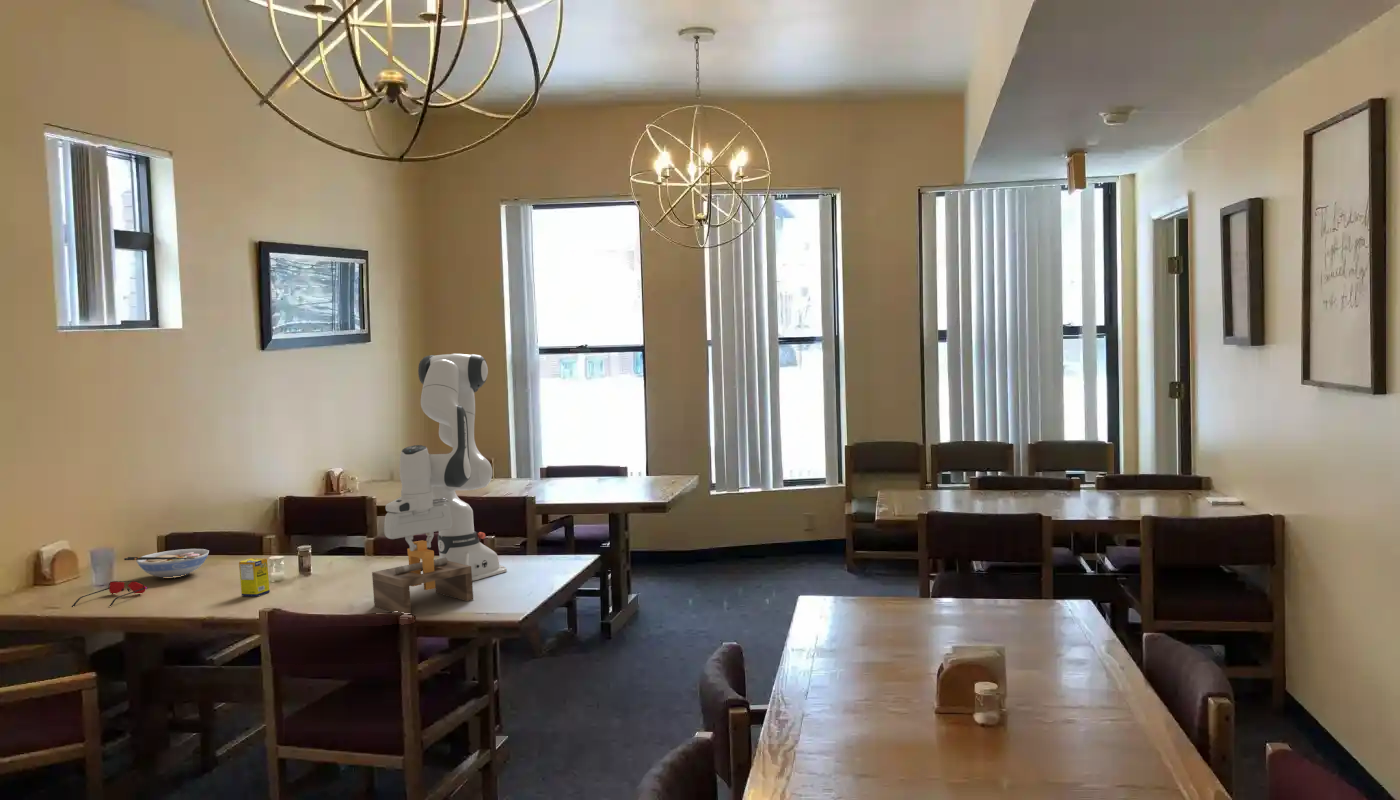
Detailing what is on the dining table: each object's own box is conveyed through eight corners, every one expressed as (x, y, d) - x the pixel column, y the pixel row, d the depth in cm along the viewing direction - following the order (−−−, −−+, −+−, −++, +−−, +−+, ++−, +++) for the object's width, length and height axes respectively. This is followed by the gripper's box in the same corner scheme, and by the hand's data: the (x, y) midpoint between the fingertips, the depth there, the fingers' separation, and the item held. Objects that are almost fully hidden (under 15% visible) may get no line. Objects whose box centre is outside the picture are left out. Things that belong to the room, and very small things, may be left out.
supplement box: (270, 592, 345) (267, 557, 344) (256, 597, 339) (254, 562, 338) (254, 591, 347) (252, 557, 346) (241, 596, 341) (238, 561, 340)
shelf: (441, 591, 334) (439, 552, 334) (473, 599, 321) (470, 559, 321) (374, 606, 319) (371, 565, 319) (404, 615, 306) (401, 573, 306)
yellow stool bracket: (418, 583, 325) (416, 538, 324) (436, 588, 317) (433, 542, 317) (409, 585, 323) (406, 540, 322) (426, 590, 315) (423, 544, 315)
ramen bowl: (227, 568, 386) (226, 545, 385) (186, 584, 363) (184, 559, 363) (163, 569, 390) (161, 546, 389) (119, 584, 368) (117, 560, 367)
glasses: (148, 595, 351) (147, 580, 350) (109, 608, 335) (108, 592, 334) (111, 595, 354) (109, 579, 354) (70, 608, 338) (69, 592, 337)
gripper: (443, 496, 328) (446, 542, 329) (380, 506, 314) (383, 554, 315) (454, 497, 323) (457, 544, 324) (390, 508, 309) (393, 556, 310)
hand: (420, 549), depth 319 cm, fingers closed on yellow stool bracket, 3 cm apart
